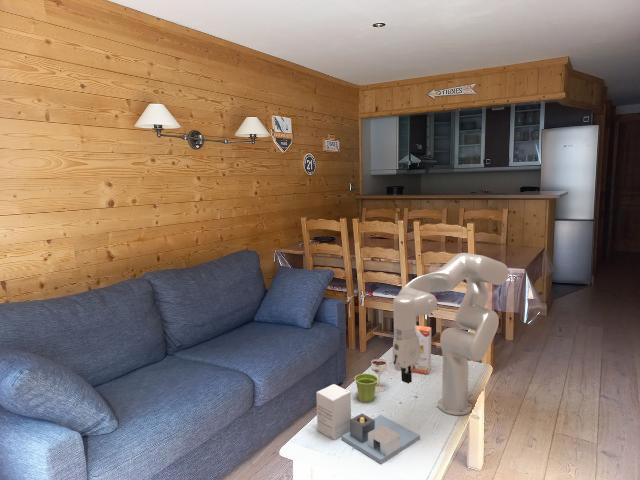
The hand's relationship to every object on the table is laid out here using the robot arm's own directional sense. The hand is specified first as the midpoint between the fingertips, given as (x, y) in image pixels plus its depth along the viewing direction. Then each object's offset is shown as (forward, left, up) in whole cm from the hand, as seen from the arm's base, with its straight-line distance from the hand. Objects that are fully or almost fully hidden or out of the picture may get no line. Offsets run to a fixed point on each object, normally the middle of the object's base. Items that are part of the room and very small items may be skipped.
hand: (406, 381), depth 160 cm
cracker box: (-42, -29, -19) cm, 54 cm away
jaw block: (+15, -7, -18) cm, 24 cm away
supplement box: (+18, -18, -19) cm, 32 cm away
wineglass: (-17, -28, -19) cm, 38 cm away
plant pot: (-7, -26, -19) cm, 33 cm away
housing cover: (+14, +2, -18) cm, 23 cm away
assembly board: (+10, -3, -19) cm, 22 cm away
